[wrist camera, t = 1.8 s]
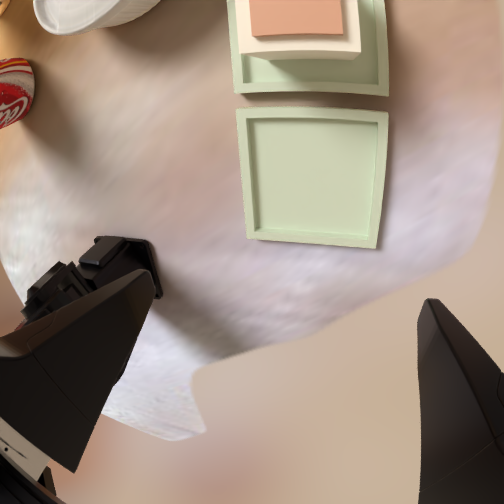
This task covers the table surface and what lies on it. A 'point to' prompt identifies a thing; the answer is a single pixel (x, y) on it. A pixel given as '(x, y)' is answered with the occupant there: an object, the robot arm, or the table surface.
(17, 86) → the soda can
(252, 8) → the cream block
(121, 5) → the ramekin
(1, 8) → the beer glass
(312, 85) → the tray
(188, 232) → the table surface
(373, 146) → the tray
